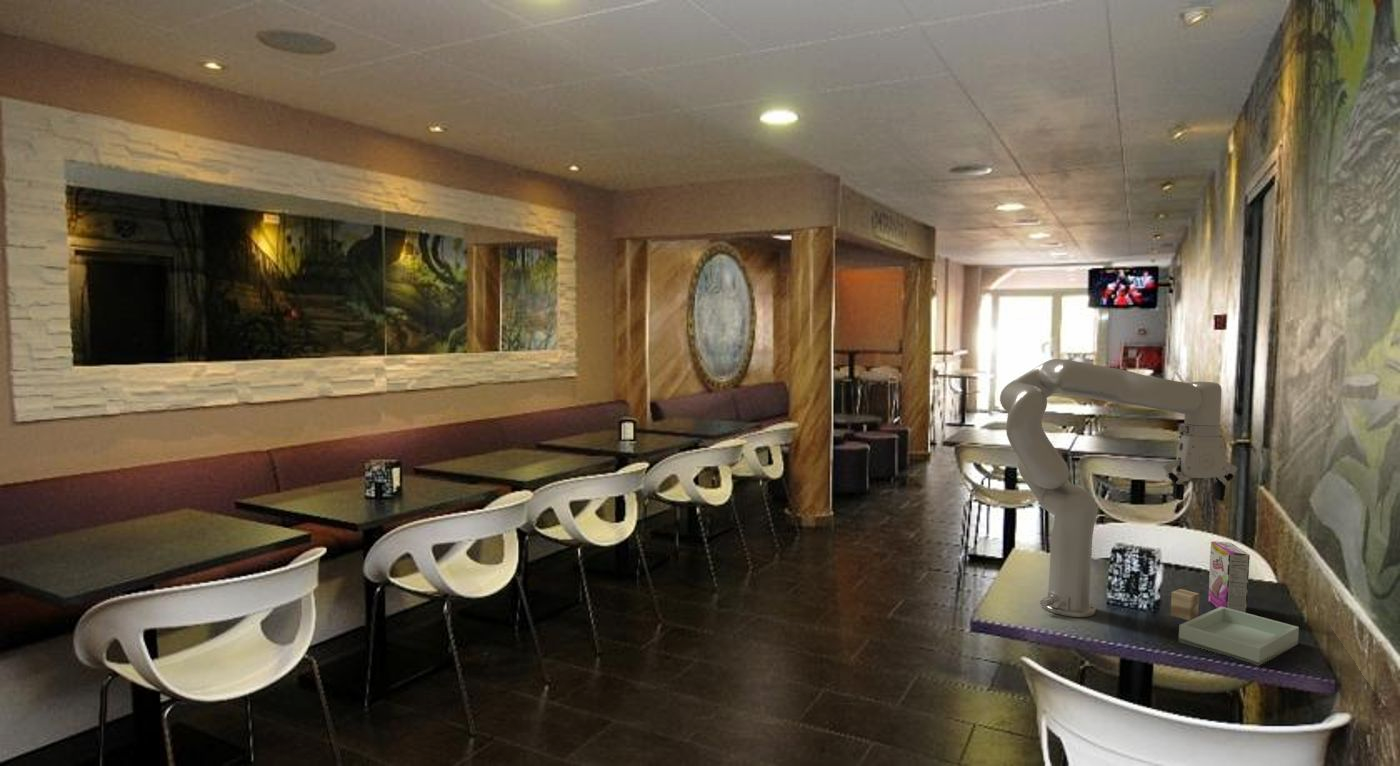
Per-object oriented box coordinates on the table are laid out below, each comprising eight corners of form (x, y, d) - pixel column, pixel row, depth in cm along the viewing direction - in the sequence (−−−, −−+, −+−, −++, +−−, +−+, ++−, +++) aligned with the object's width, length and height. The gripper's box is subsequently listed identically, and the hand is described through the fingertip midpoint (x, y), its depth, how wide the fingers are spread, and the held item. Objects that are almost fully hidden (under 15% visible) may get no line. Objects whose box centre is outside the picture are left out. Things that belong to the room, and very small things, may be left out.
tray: (1258, 666, 170) (1259, 648, 170) (1178, 641, 183) (1179, 624, 183) (1297, 644, 183) (1298, 627, 182) (1220, 622, 196) (1221, 606, 195)
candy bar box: (1206, 601, 210) (1209, 540, 209) (1227, 603, 209) (1231, 542, 208) (1224, 616, 199) (1229, 552, 198) (1247, 618, 198) (1251, 554, 197)
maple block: (1189, 620, 196) (1191, 597, 196) (1170, 615, 200) (1171, 592, 200) (1197, 617, 199) (1199, 593, 199) (1178, 611, 203) (1180, 588, 202)
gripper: (1173, 433, 195) (1170, 502, 196) (1247, 433, 194) (1243, 503, 195) (1158, 429, 203) (1155, 495, 204) (1228, 429, 202) (1225, 496, 203)
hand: (1198, 499), depth 200 cm, fingers open, 9 cm apart
